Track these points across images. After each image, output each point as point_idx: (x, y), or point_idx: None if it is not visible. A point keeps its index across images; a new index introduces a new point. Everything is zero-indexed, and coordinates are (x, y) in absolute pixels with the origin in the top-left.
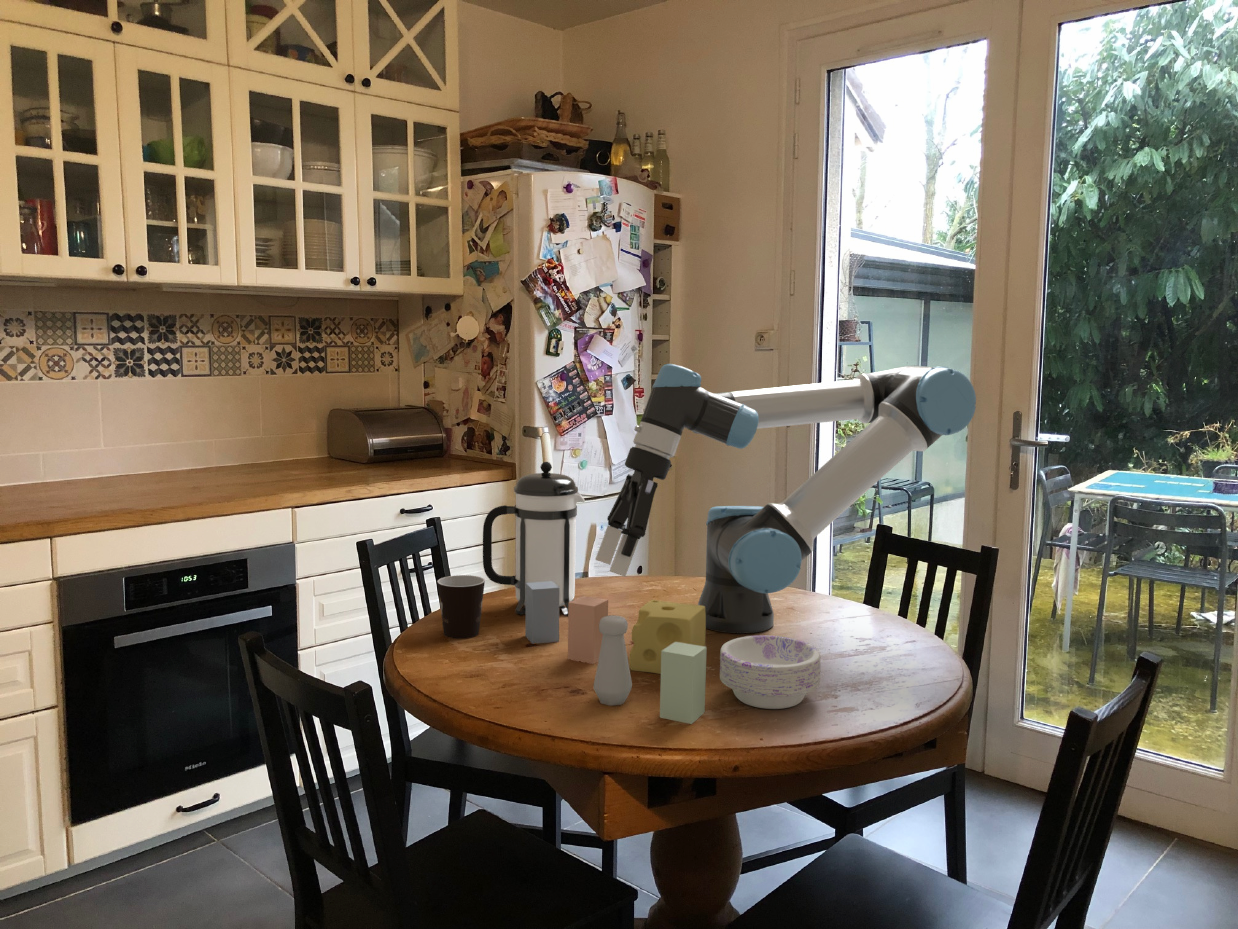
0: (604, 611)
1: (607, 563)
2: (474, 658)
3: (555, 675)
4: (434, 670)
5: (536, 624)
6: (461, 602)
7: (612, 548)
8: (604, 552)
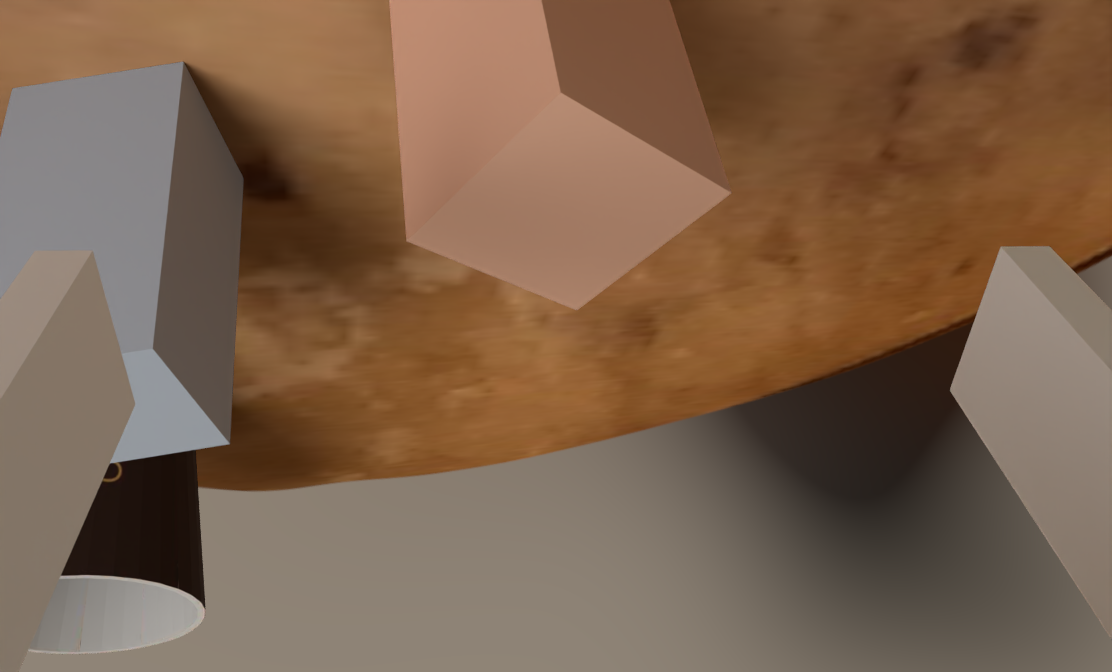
0: (598, 62)
1: (101, 287)
2: (448, 338)
3: (745, 107)
4: (555, 404)
5: (231, 246)
6: (197, 532)
7: (23, 426)
8: (84, 434)
